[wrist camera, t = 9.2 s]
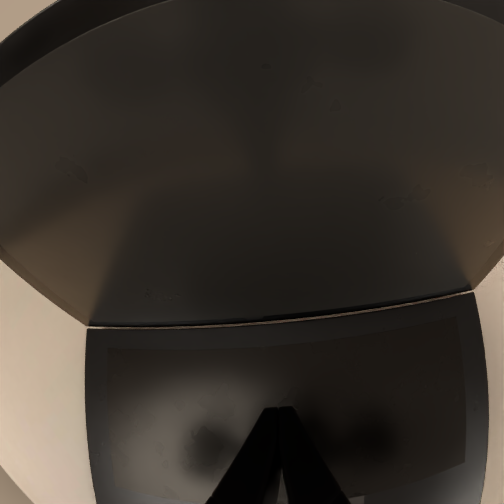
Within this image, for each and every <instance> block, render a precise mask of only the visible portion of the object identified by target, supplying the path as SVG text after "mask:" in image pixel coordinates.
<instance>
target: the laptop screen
mask: <svg viewBox="0 0 504 504" xmlns="http://www.w3.org/2000/svg"><path fill="white" fill-rule="evenodd" d="M503 256H504V0H57V1H56V2H54V3H53V4H51V5H50V6H48V7H46V8H45V9H43V10H42V11H40V12H39V13H38V14H36V15H35V16H33V17H32V18H31V19H29V20H28V21H27V22H25V23H24V24H23V25H21V26H20V27H19V28H17V29H16V30H15V31H14V32H12V33H11V34H10V35H9V36H8V37H6V38H5V39H4V40H3V41H2V42H1V43H0V259H1V260H2V261H3V262H4V263H5V264H6V265H7V266H8V267H10V268H11V269H12V270H13V271H14V272H15V273H16V274H18V275H19V276H20V277H21V278H22V279H24V280H25V281H26V282H27V283H28V284H30V285H31V286H32V287H33V288H35V289H36V290H37V291H38V292H40V293H41V294H42V295H43V296H45V297H46V298H47V299H49V300H50V301H51V302H53V303H54V304H55V305H57V306H58V307H60V308H61V309H62V310H64V311H65V312H67V313H68V314H69V315H71V316H72V317H74V318H75V319H77V320H78V321H80V322H81V323H82V324H84V325H85V326H92V327H176V326H204V325H223V324H239V323H253V322H266V321H277V320H288V319H298V318H307V317H316V316H324V315H333V314H340V313H348V312H355V311H362V310H369V309H375V308H382V307H388V306H394V305H400V304H406V303H411V302H417V301H422V300H427V299H433V298H438V297H442V296H447V295H452V294H457V293H461V292H466V291H470V290H474V289H475V288H476V287H477V286H478V285H479V283H480V282H481V281H482V280H483V279H484V278H485V277H486V276H487V275H488V273H489V272H490V271H491V270H492V269H493V268H494V267H495V265H496V264H497V263H498V262H499V261H500V259H501V258H502V257H503Z"/></svg>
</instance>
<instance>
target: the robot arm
mask: <svg viewBox="0 0 504 504" xmlns="http://www.w3.org/2000/svg"><path fill="white" fill-rule="evenodd" d="M281 466H282V473H283V480H284V485H285V491H286V497H287V503H288V504H351V503H350V501H349V500H348V498H347V497H346V495H345V493H344V492H343V491H341V490H342V489H341V487H340V486H339V484H338V482H337V481H336V479H335V477H334V476H333V474H332V473H331V471H330V469H329V468H328V466H327V464H326V463H325V461H324V459H323V458H322V456H321V454H320V453H319V451H318V449H317V447H316V446H315V444H314V442H313V441H312V439H311V437H310V435H309V434H308V432H307V430H306V429H305V427H304V425H303V423H302V422H301V420H300V418H299V416H298V415H297V413H296V411H295V409H294V408H293V407H292V406H282V407H279V409H278V408H277V407H266V408H264V409H263V411H262V412H261V414H260V416H259V418H258V420H257V421H256V423H255V425H254V427H253V428H252V430H251V432H250V433H249V435H248V437H247V439H246V440H245V442H244V444H243V445H242V447H241V449H240V450H239V452H238V454H237V455H236V457H235V458H234V460H233V462H232V463H231V465H230V466H229V468H228V470H227V471H226V473H225V474H224V476H223V477H222V479H221V480H220V482H219V484H218V485H217V487H216V488H215V490H214V491H213V493H212V494H211V495H212V496H210V497H209V498H208V500H207V501H206V503H205V504H277V499H278V492H279V485H280V478H281Z"/></svg>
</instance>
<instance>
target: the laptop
mask: <svg viewBox="0 0 504 504" xmlns="http://www.w3.org/2000/svg"><path fill="white" fill-rule="evenodd" d="M282 406H292V407H293V408H294V409H295V411H296V413H297V415H298V416H299V418H300V420H301V422H302V423H303V425H304V427H305V429H306V430H307V432H308V434H309V435H310V437H311V439H312V441H313V442H314V444H315V446H316V447H317V449H318V451H319V453H320V454H321V456H322V458H323V459H324V461H325V463H326V464H327V466H328V468H329V469H330V471H331V473H332V474H333V476H334V477H335V479H336V481H337V482H338V484H339V486H340V487H341V489H342V490H341V491H343V492H344V493H345V495H346V497H347V498H348V500H349V501H350V503H351V504H480V502H481V497H482V491H483V485H484V478H485V470H486V461H487V449H488V430H489V401H488V381H487V368H486V359H485V350H484V343H483V336H482V330H481V324H480V318H479V313H478V308H477V304H476V299H475V295H474V292H471V293H467V294H462V295H458V296H453V297H449V298H444V299H439V300H434V301H429V302H424V303H419V304H413V305H408V306H402V307H397V308H391V309H385V310H378V311H372V312H365V313H359V314H352V315H344V316H337V317H329V318H321V319H312V320H303V321H293V322H283V323H272V324H260V325H246V326H231V327H213V328H189V329H91V328H88V329H87V334H86V352H85V412H86V429H87V441H88V451H89V460H90V467H91V474H92V481H93V487H94V492H95V497H96V502H97V504H205V503H206V501H207V500H208V498H209V497H210V496H212V495H211V494H212V493H213V491H214V490H215V488H216V487H217V485H218V484H219V482H220V480H221V479H222V477H223V476H224V474H225V473H226V471H227V470H228V468H229V466H230V465H231V463H232V462H233V460H234V458H235V457H236V455H237V454H238V452H239V450H240V449H241V447H242V445H243V444H244V442H245V440H246V439H247V437H248V435H249V433H250V432H251V430H252V428H253V427H254V425H255V423H256V421H257V420H258V418H259V416H260V414H261V412H262V411H263V409H264V408H266V407H277V408H278V409H279V407H282ZM277 504H288V503H287V497H286V491H285V485H284V480H283V473H282V466H281V478H280V485H279V492H278V499H277Z"/></svg>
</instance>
